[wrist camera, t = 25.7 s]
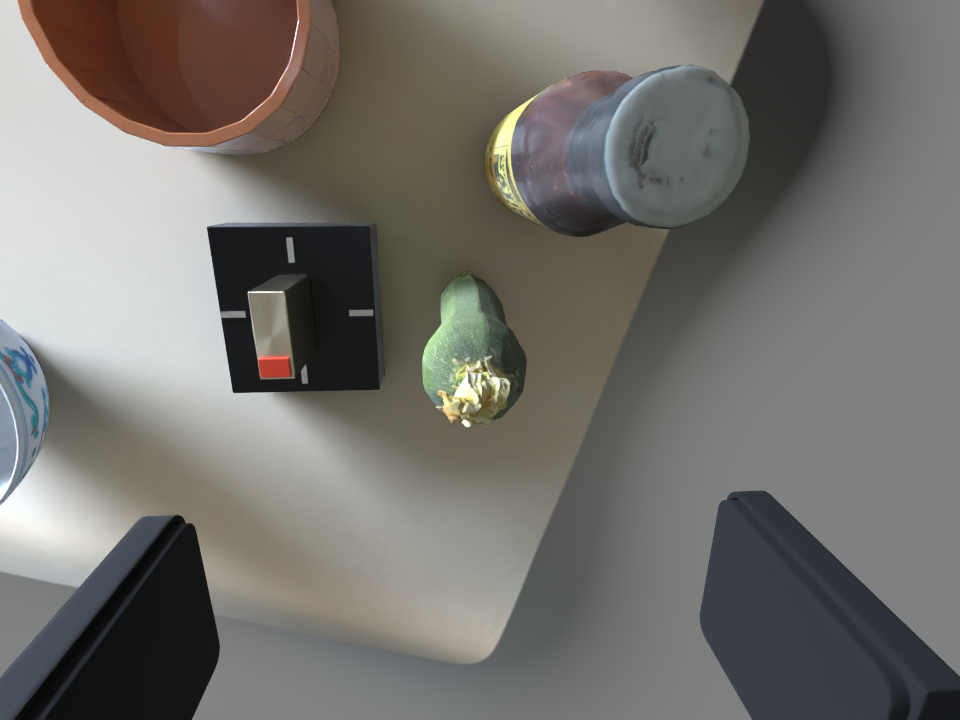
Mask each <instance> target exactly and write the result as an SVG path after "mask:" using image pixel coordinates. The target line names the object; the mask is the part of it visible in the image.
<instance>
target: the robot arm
mask: <svg viewBox="0 0 960 720" xmlns="http://www.w3.org/2000/svg"><path fill="white" fill-rule="evenodd" d="M700 624H701V629H702V632H703V634H704V637H705V638H706V640H707V642H708V644H709V645H710V647H711V649H712V651H713V652H714V654H715V656H716V658H717V659H718V661H719V663H720V664H721V666H722V668H723V670H724V672H725V673H726V675H727V677H728V678H729V680H730V682H731V684H732V685H733V687H734V689H735V691H736V692H737V694H738V696H739V698H740V699H741V701H742V703H743V704H744V706H745V708H746V710H747V711H748V713H749V715H750V717H751V718H752V720H960V676H959V675H958V674H956V673H955V672H954V671H953V670H952V669H951V668H950V667H949V666H948V665H947V664H946V663H945V662H944V661H943V660H942V659H941V658H940V657H939V656H938V655H937V654H936V653H935V652H934V651H932V650H931V649H930V648H929V647H928V646H927V645H926V644H925V643H924V642H923V641H922V640H921V639H920V638H919V637H918V636H917V635H916V634H915V633H914V632H913V631H912V630H910V628H909V627H907V625H906V624H904V623H903V622H902V621H901V620H900V619H899V618H898V617H897V616H896V615H895V614H894V613H893V612H892V611H891V610H890V609H889V608H888V607H887V606H886V605H884V603H883V602H881V600H879V599H878V598H877V597H876V596H875V595H874V594H873V593H872V592H871V591H870V590H869V589H868V588H867V587H866V586H865V585H864V584H863V583H862V582H861V581H860V580H859V579H858V578H857V577H855V576H854V575H853V574H852V573H851V572H850V571H849V570H848V569H847V568H846V567H845V566H844V565H843V564H842V563H841V562H840V561H839V560H838V559H837V558H836V557H835V556H834V555H833V554H832V553H831V552H829V551H828V550H827V549H826V548H825V547H824V546H823V545H822V544H821V543H820V542H819V541H818V540H817V539H816V538H815V537H814V536H813V535H812V534H811V533H810V532H809V531H808V530H807V529H805V528H804V527H803V526H802V525H801V524H800V523H799V522H798V521H797V520H796V519H795V518H794V517H793V516H792V515H791V514H790V513H789V512H788V511H787V510H786V509H785V508H784V507H783V506H782V505H781V504H780V503H778V502H777V501H776V500H775V499H774V498H773V497H772V496H771V495H770V494H769V493H767V492H765V491H742V492H732V493H730V495H729V496H728V498H727V500H724V501H722V502H721V503H720V505H719V508H718V514H717V520H716V525H715V531H714V537H713V542H712V548H711V554H710V560H709V565H708V571H707V577H706V582H705V588H704V594H703V599H702V605H701V611H700ZM219 648H220V644H219V638H218V633H217V628H216V624H215V619H214V614H213V609H212V605H211V600H210V595H209V590H208V585H207V581H206V576H205V571H204V566H203V562H202V557H201V552H200V547H199V543H198V538H197V533H196V529H195V527H194V525H193V524H191V523H186V522H185V520H184V518H183V517H182V516H180V515H166V516H146V517H142V518H141V519H139V520H138V521H137V522H136V523H135V524H134V526H133V527H132V528H131V529H130V530H129V531H128V532H127V534H126V535H125V536H124V537H123V538H122V539H121V540H120V542H119V543H118V544H117V545H116V546H115V547H114V548H113V550H112V551H111V552H110V553H109V554H108V555H107V556H106V557H105V559H104V560H103V561H102V562H101V563H100V564H99V565H98V567H97V568H96V569H95V570H94V571H93V572H92V573H91V575H90V576H89V577H88V578H87V579H86V580H85V581H84V583H83V584H82V585H81V586H80V587H79V588H78V589H77V591H76V592H75V593H74V594H73V595H72V596H71V597H70V599H69V600H68V601H67V602H66V603H65V604H64V606H62V608H61V609H60V610H59V611H58V612H57V613H56V615H55V616H54V617H53V618H52V619H51V620H50V621H49V623H48V624H47V625H46V626H45V627H44V628H43V630H41V632H40V633H39V634H38V635H37V636H36V637H35V638H34V640H33V641H32V642H31V643H30V644H29V645H28V647H27V648H26V649H25V650H24V651H23V652H22V653H21V654H20V656H19V657H18V658H17V659H16V660H15V661H14V663H12V665H11V666H10V667H9V668H8V669H7V670H6V672H5V673H4V674H3V675H2V676H1V677H0V720H192V718H193V716H194V714H195V711H196V709H197V707H198V705H199V702H200V700H201V698H202V696H203V694H204V691H205V689H206V687H207V685H208V683H209V681H210V679H211V676H212V674H213V672H214V670H215V667H216V665H217V662H218V658H219V650H220V649H219Z"/></svg>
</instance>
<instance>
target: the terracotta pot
mask: <svg viewBox="0 0 960 720" xmlns="http://www.w3.org/2000/svg"><path fill="white" fill-rule="evenodd" d="M17 1H18V5H19V10H20V14H21V17H22V19H23V21H24V23H25V25H26V27H27V29H28V31H29V32H30V34H31V36H32V38H33V40H34V42H35V44H36V46H37V48H38V49H39V51H40V53H41V55H42V57H43V59H44V61H45V63H46V64H47V65H48V67H49V68H50V69H51V70H52V71H53V72H54V73H55V74H56V75H57V77H58V78H59V79H60V80H61V81H62V82H63V83H64V84H65V86H66V87H67V88H68V89H69V90H70V91H71V92H72V93H73V94H74V96H75V97H76V98H77V99H78V100H79V101H80V102H81V103H82V104H83V105H84V106H85V107H87V108H88V109H90V110H91V111H93V112H94V113H96V114H97V115H99V116H100V117H102V118H103V119H105V120H106V121H108V122H109V123H111V124H112V125H114V126H115V127H117V128H118V129H120V130H121V131H123V132H125V133H127V134H131V135H134V136H137V137H140V138H143V139H146V140H149V141H152V142H155V143H158V144H161V145H164V146H169V147H175V148H183V149H190V150H198V151H205V152H213V153H220V154H243V155H244V154H261V153H263V152H267V151H271V150H274V149H277V148H280V147H282V146H284V145H286V144H288V143H290V142H292V141H293V140H295V139H296V138H298V137H299V136H300V135H302V134H303V133H304V132H306V131H307V130H308V128H309V127H310V126H311V125H312V124H313V123H314V122H315V121H316V120H317V118H318V117H319V116H320V114H321V113H322V112H323V110H324V108H325V106H326V104H327V103H328V101H329V99H330V96H331V94H332V91H333V88H334V86H335V82H336V78H337V74H338V69H339V59H340V36H339V28H338V20H337V14H336V12H335V9H334V5H333V2H332V0H17Z"/></svg>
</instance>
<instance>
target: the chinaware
mask: <svg viewBox="0 0 960 720" xmlns="http://www.w3.org/2000/svg"><path fill="white" fill-rule="evenodd" d="M48 421H49V394H48V389H47V384H46V381H45V377H44V374H43V372H42V369H41V367H40V365H39V363H38V361H37V359H36V357H35V355H34V354H33V352H32V351H31V349H30V348H29V346H28V345H27V344H26V343H25V342H24V341H23V339H22V338H21V337H20V336H19V335H18V334H17V333H16V332H15V331H14V330H13V329H12V328H11V327H10V326H9V325H7V324H6V323H5V322H4V321H3V320H1V319H0V505H1V504H2V503H3V502H4V501H5V500H6V499H7V498H8V497H9V495H10V494H11V493H12V492H13V491H14V490H15V488H16V487H17V486H18V485H19V483H20V482H21V481H22V480H23V478H24V477H25V475H26V474H27V472H28V471H29V469H30V468H31V466H32V464H33V463H34V461H35V459H36V457H37V455H38V453H39V451H40V449H41V446H42V444H43V441H44V438H45V435H46V431H47V427H48Z"/></svg>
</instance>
